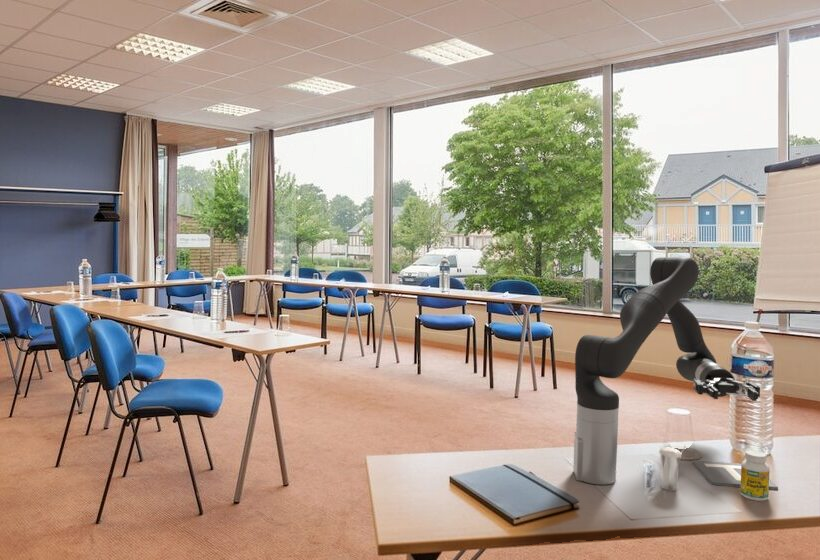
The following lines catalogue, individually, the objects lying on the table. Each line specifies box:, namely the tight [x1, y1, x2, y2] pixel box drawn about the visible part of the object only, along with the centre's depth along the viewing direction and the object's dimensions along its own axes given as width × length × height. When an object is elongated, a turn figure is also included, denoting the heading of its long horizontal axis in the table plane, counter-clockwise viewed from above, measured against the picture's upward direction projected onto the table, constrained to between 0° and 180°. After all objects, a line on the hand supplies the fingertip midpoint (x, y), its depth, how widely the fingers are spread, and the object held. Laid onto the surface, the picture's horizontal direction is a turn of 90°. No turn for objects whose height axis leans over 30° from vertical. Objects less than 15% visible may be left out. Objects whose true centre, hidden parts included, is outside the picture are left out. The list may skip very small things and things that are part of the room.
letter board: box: [692, 459, 779, 491], centre depth 142 cm, size 14×14×1 cm
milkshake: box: [658, 445, 686, 492], centre depth 133 cm, size 4×5×10 cm
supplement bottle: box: [739, 450, 771, 502], centre depth 130 cm, size 5×5×10 cm
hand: (735, 396), depth 142 cm, fingers open, 8 cm apart
